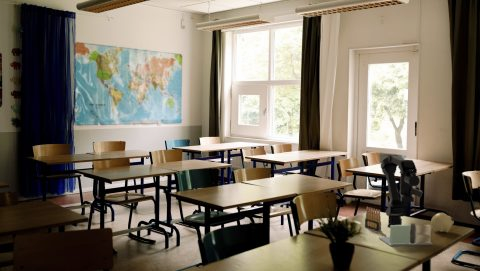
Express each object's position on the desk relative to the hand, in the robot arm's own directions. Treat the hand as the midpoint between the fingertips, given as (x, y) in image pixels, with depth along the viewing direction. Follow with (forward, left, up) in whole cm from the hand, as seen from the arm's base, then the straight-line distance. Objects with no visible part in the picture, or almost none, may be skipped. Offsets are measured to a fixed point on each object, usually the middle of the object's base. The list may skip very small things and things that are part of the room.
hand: (405, 211), depth 255 cm
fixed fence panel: (+11, -16, -11) cm, 22 cm away
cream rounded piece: (+17, +14, -12) cm, 25 cm away
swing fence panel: (+3, -23, -11) cm, 25 cm away
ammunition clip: (-17, -1, -12) cm, 21 cm away
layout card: (+4, -15, -12) cm, 20 cm away
